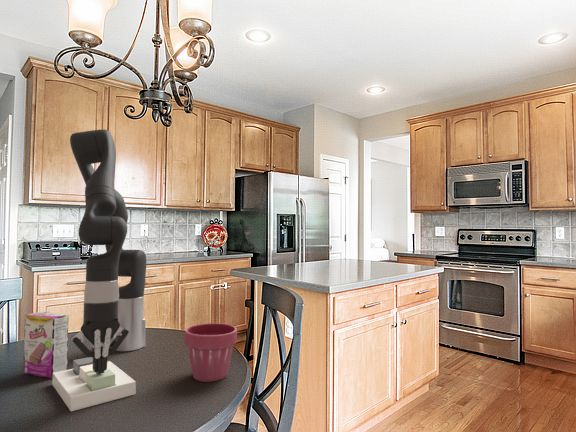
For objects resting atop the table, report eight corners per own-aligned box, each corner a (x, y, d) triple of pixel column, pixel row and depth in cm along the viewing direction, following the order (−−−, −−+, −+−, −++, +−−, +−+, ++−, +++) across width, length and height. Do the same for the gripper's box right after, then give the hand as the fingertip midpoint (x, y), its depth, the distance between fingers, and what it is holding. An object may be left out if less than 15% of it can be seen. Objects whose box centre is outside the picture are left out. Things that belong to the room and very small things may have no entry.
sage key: (108, 381, 96) (108, 368, 96) (115, 387, 92) (115, 374, 92) (86, 386, 92) (86, 373, 93) (92, 393, 89) (92, 379, 89)
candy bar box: (21, 374, 107) (23, 314, 108) (38, 368, 112) (40, 311, 112) (51, 379, 103) (53, 317, 104) (68, 373, 108) (69, 313, 109)
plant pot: (247, 375, 107) (247, 328, 107) (204, 390, 96) (204, 338, 97) (215, 363, 116) (216, 320, 117) (173, 375, 106) (174, 328, 107)
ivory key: (100, 374, 101) (100, 362, 101) (106, 379, 97) (106, 367, 97) (79, 378, 97) (79, 366, 97) (84, 384, 94) (84, 372, 94)
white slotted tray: (109, 371, 109) (109, 361, 109) (135, 394, 94) (135, 381, 94) (52, 384, 100) (52, 372, 100) (70, 411, 85) (71, 397, 85)
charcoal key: (93, 367, 105) (93, 356, 106) (99, 372, 102) (99, 360, 102) (73, 371, 102) (73, 360, 102) (77, 377, 98) (78, 365, 99)
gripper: (124, 294, 100) (123, 363, 99) (67, 300, 92) (64, 375, 91) (135, 298, 95) (133, 370, 94) (74, 304, 86) (72, 384, 85)
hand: (99, 372), depth 92 cm, fingers closed
